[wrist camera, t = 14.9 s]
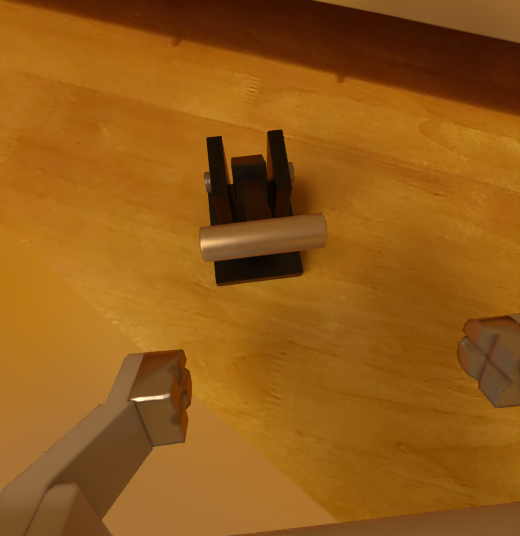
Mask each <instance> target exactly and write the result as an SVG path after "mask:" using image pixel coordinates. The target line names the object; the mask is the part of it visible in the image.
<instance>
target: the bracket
mask: <svg viewBox="0 0 520 536" xmlns="http://www.w3.org/2000/svg"><path fill="white" fill-rule="evenodd" d="M206 140H207V150H208V161H209V171H210V172H205V173H204V179H205V186H206V190H207V193H208V200H209V211H210V222H211V226H215V225H223V224H231V223H240V222H247V216H246V209H245V201H244V202H236V197H235V190H234V184H230V179H229V174H228V168H227V163H226V157H225V152H224V147H223V141H222V136H216V137H207V138H206ZM267 183H268V195H269V198H268V199H267V202H268V205H269V208H270V211H271V214H272V217H273V218H282V217H290V216H293V213H292V207H291V201H290V198H291V193H292V183H294V168H293V164H292V162H289V163H288V159H287V154H286V148H285V142H284V136H283V131H282V130H272V131H268V132H267ZM214 266H215V277H216V284H217V285H218V286H225V285H233V284H241V283H249V282H257V281H265V280H273V279H281V278H289V277H297V276H301V275H302V267H301V261H300V255H299V251H293V252H285V253H277V254H269V255H261V256H252V257H244V258H236V259H228V260H220V261H214Z"/></svg>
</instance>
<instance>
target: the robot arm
mask: <svg viewBox="0 0 520 536" xmlns="http://www.w3.org/2000/svg"><path fill="white" fill-rule="evenodd" d="M463 332H464V333H465V335H466V336H465V337H464V338H463V339H462V340H461V341H460V342H459V344H458V348H457V356H458V361H459V363H460V365H461V367H462V368H463V370H464V371H465V372H466V373H467V375H469V376H471V377H473V378H475V379H477V380H478V388H479V389H480V390H481V391H482V393H483V394H484V395H485V396H486V397H487V399H488V400H489V401H490V402H491V403H492V405H493V406H494V407H495V408H502V407H514V406H520V313H518V314H510V315H504V316H494V317H486V318H477V319H469V320H468V321H467V322H466V323H465V325H464V328H463ZM185 364H186V356H185V353H184V351H183V350H182V349H181V350H168V351H156V352H147V353H137V354H136V353H135V354H128V355H127V356H126V357H125V359H124V361H123V363H122V366H121V368H120V370H119V373H118V375H117V377H116V380H115V382H114V384H113V387H112V389H111V391H110V394H109V396H108V399H107V401H106V403H105V404H100V405H98V406H97V407H96V408H95V409H94V410H93V411H92V412H90V413H89V414H88V415H87V416H86V417H85V418H83V419H82V420H81V421H80V422H79V423H78V424H77V425H76V426H74V427H73V428H72V429H71V430H70V431H69V432H68V433H66V434H65V435H64V436H63V437H62V438H61V439H60V440H58V441H57V442H56V443H55V444H54V445H53V446H52V447H50V448H49V449H48V450H47V451H46V452H45V453H44V454H43V455H41V456H40V457H39V458H38V459H37V460H36V461H34V462H33V463H32V464H31V465H30V466H29V467H28V468H27V469H25V470H24V471H23V472H22V473H21V474H20V475H18V476H17V477H16V478H15V479H14V480H13V481H12V482H10V483H9V484H8V485H7V486H6V487H5V488H4V489H3V490H2V492H1V494H0V536H112V535H111V533H110V532H109V530H108V529H107V527H106V526H105V524H104V523H103V522H102V519H103V517H104V516H105V515H106V513H107V512H108V510H109V509H110V508H111V506H112V505H113V503H114V502H115V501H116V499H117V498H118V496H119V495H120V494H121V492H122V491H123V490H124V488H125V487H126V485H127V484H128V483H129V481H130V480H131V478H132V477H133V475H134V474H135V473H136V472H137V470H138V469H139V467H140V466H141V465H142V463H143V461H144V460H145V459H146V457H147V456H148V455H149V453H150V452H151V451H152V447H155V446H161V445H169V444H176V443H184V442H185V438H186V432H187V426H188V416H187V412H186V409H187V408H188V407H189V406H190V405H191V397H192V382H191V375H190V371H189V370H188V369H186V368H185ZM232 536H520V502H513V503H504V504H496V505H487V506H479V507H470V508H461V509H453V510H444V511H436V512H427V513H419V514H410V515H401V516H393V517H384V518H376V519H367V520H359V521H350V522H342V523H333V524H325V525H316V526H308V527H300V528H291V529H282V530H273V531H265V532H257V533H248V534H240V535H232Z"/></svg>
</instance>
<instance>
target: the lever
mask: <svg viewBox="0 0 520 536" xmlns="http://www.w3.org/2000/svg"><path fill="white" fill-rule="evenodd" d="M231 168H232V175H233V182H234V190H235V197H236V202H244V201H245V209H246V216H247V222H240V223H231V224H223V225H215V226H206V227H201V228H200V230H199V240H200V248H201V253H202V257H203V260H204V261H205V262H212V261H220V260H228V259H236V258H244V257H252V256H261V255H269V254H277V253H285V252H293V251H301V250H310V249H318V248H324V247H325V246H326V244H327V226H326V221H325V218H324V216H323V214H322V213H315V214H307V215H299V216H290V217H282V218H273V217H272V214H271V211H270V208H269V205H268V202H267V199H268V198H269V195H268V183H267V171H266V162H265V160H264V158H263V156H262V155H261V154H260V155H251V156H242V157H234V158H231Z"/></svg>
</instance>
